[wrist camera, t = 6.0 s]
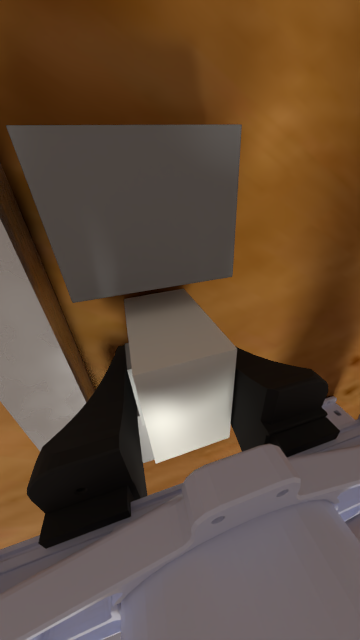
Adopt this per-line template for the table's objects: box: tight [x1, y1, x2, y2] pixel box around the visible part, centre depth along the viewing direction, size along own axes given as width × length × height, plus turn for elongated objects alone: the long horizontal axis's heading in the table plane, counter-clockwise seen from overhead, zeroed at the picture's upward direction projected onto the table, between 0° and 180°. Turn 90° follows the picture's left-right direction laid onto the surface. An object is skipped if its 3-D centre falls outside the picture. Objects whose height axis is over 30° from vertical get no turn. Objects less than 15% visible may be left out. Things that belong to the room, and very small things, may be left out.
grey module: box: [124, 289, 237, 463], centre depth 12 cm, size 4×6×7 cm
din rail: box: [0, 163, 95, 451], centre depth 13 cm, size 4×28×4 cm, turn 4°
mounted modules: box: [6, 125, 242, 463], centre depth 14 cm, size 8×21×4 cm, turn 4°
